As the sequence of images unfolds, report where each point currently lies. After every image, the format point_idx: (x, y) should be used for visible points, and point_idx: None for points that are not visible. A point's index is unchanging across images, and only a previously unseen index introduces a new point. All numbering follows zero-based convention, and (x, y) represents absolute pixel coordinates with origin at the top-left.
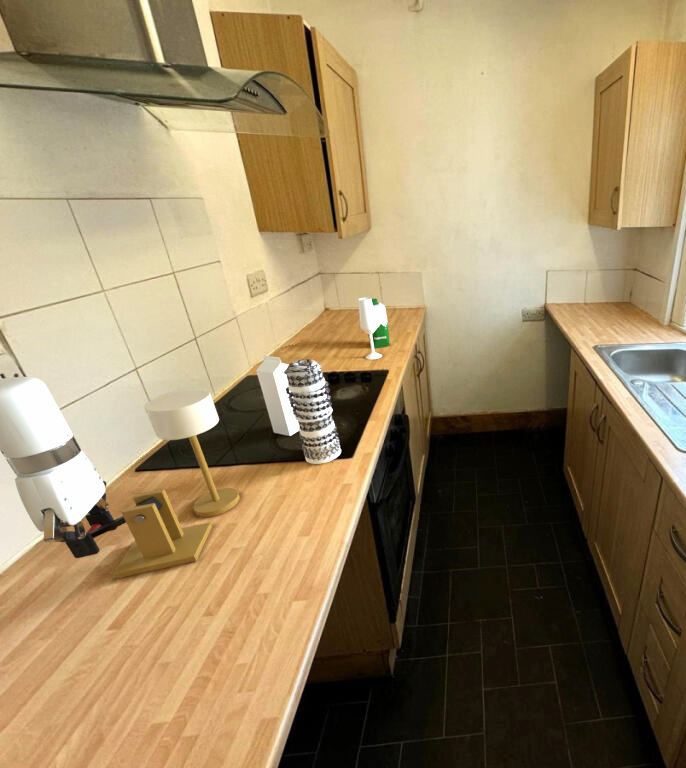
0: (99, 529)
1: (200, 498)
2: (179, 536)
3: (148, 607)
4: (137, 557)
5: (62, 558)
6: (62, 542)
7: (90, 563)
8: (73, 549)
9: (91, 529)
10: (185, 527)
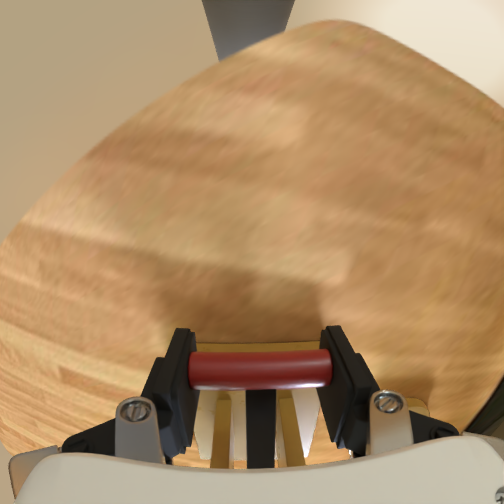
0: (247, 432)
1: (418, 408)
2: (275, 437)
3: (99, 408)
4: None
5: (339, 140)
6: (123, 404)
7: (277, 245)
8: (150, 378)
9: (284, 387)
10: (314, 429)
